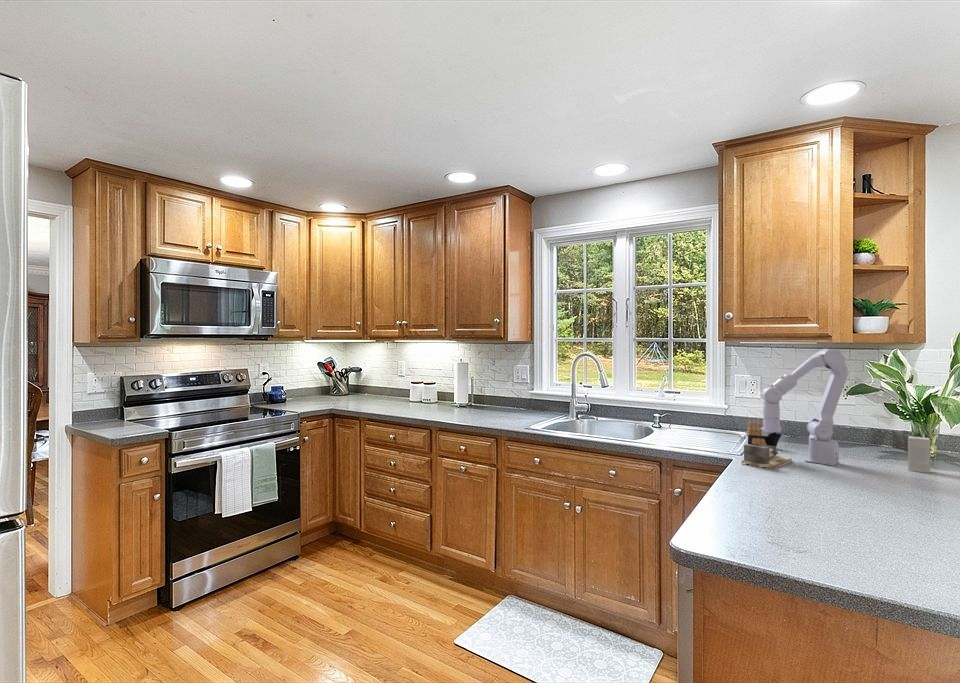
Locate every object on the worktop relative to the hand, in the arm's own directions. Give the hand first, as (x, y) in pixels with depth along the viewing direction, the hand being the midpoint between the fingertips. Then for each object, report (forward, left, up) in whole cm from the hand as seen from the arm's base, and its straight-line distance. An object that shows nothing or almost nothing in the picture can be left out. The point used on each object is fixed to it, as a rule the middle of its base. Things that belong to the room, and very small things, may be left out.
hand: (771, 452), depth 205 cm
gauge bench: (-1, +7, -3) cm, 8 cm away
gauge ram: (-1, +7, 0) cm, 7 cm away
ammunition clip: (+12, -21, -3) cm, 25 cm away
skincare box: (-42, -20, -3) cm, 47 cm away
